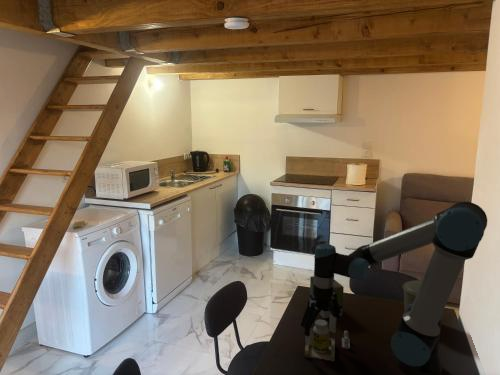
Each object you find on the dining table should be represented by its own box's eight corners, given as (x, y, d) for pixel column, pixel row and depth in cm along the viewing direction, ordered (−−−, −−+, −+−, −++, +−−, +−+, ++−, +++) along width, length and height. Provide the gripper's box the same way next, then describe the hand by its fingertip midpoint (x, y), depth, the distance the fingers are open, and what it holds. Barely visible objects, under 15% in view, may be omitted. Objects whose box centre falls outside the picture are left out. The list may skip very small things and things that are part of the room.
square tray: (306, 340, 152) (306, 335, 152) (334, 344, 150) (334, 338, 149) (304, 356, 141) (304, 350, 141) (334, 361, 139) (334, 354, 139)
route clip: (349, 340, 153) (349, 331, 153) (349, 349, 147) (350, 339, 146) (341, 339, 154) (342, 330, 153) (342, 347, 148) (342, 338, 147)
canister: (402, 332, 160) (407, 285, 157) (396, 312, 178) (400, 269, 174) (448, 338, 156) (454, 290, 153) (438, 317, 173) (442, 274, 170)
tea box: (308, 304, 184) (309, 275, 181) (326, 301, 187) (328, 273, 184) (323, 319, 170) (325, 288, 167) (342, 316, 173) (344, 286, 170)
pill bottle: (310, 351, 144) (311, 324, 142) (315, 343, 150) (315, 317, 148) (326, 355, 141) (327, 327, 140) (330, 346, 147) (331, 320, 145)
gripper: (337, 274, 152) (334, 323, 155) (292, 289, 137) (290, 343, 140) (352, 280, 146) (348, 331, 149) (307, 297, 131) (304, 353, 134)
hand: (320, 337), depth 145 cm, fingers open, 13 cm apart
